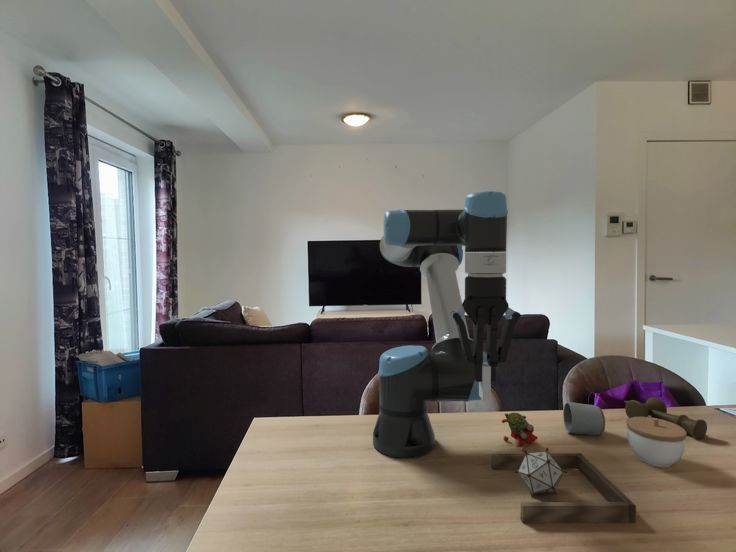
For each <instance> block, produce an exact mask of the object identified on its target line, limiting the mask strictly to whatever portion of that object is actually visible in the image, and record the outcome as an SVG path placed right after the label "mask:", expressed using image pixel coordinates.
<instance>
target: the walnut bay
mask: <svg viewBox="0 0 736 552" xmlns="http://www.w3.org/2000/svg"><path fill="white" fill-rule="evenodd" d="M548 453H549V454H550V455H551V457H552V458H553V459H554V460H555V462H556V463H557V464H558V465H559V467H560V468H561V469H562V470H577V471H578V472H579V473H580V474H581V475H582V476H583V477H584V478H585V479H586V480H587V481H588V482H589V483H590V484H591V485H592V486H593V487H594V488H595V490H597V492H598V493H600V495H602V496H603V498H604V499H605V500H606V501H575V502H574V501H557V502H555V501H550V502H549V501H543V502H542V501H540V502H539V501H538V502H537V501H536V502H533V501H532V502H531V501H530V502H529V501H528V502H527V501H525V502H524V501H522V502H520V518H519V519H520V521H521V522H522V523H523V524H563V523H564V524H565V523H566V524H570V523H572V524H573V523H574V524H584V523H585V524H588V523H594V524H596V523H597V524H599V523H601V524H604V523H605V524H606V523H610V524H611V523H616V524H618V523H633V524H634V523H636V521H637V520H636V514H637V513H636V512H637V511H636V509H637V506H636V504H635V503H634V502H633V501H632V500H630V498H629V497H628V496H627V495H625V494H624V493H623V492H622V491H621V490H620V489H619V488H618V487H617V486H616V485H615V484H614V483H613V482H612V481H611V480H610V479H608V477H607V476H605V475H604V473H602V472H601V471H600V470H599V469H598V468H597V467H596V466H595V465H594V464H593V463H592V462H591V461H590V460H589V459H588V458H586V457H585V455H584V454H582V453H581V452H573V453H572V452H570V453H569V452H564V453H563V452H560V453H559V452H558V453H557V452H554V453H551V452H548ZM490 455H491V459H490V461H491V462H490V463H491V464H490V466H491V469H492V470H496V471H497V470H498V471H500V470H506V471H507V470H511V471H512V470H514V471H518V469H519V467H520V465H521V463H522V461H523V459H524V456H525V453H524V452H523V453H491V454H490Z"/></svg>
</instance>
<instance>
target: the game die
mask: <svg viewBox="0 0 736 552" xmlns="http://www.w3.org/2000/svg"><path fill="white" fill-rule="evenodd" d="M522 449H523V450H524V448H522ZM527 451H528V450H527V449H525V450H524V452H523V453H525V456H524V459H523V461H522V463H521V465H520V467H519V469H518V470H514V471H513V473H515V474H518V475H519V477H520V478H521V479H522V480H523V481H524V483H525V485H527V487H528V488H529V490H530V491H531V494H530V496H531V498H534V497H535V494H542V493H551V492H552V493H553V494H554V495H558V492H557V486H558V484H559V483H560V481H561V478H562V477H563V475H564V474H567V473H569V471H568V470H567V469H561V468H560V467H559V465H558V464H557V463H556V462H555V460H554V459H553V458H552V457H551V455H550V454H549V453H550V452H549V446H546V447H545V450H542V451H540V450H539V451H532V452H527Z"/></svg>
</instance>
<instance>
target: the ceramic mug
mask: <svg viewBox="0 0 736 552" xmlns="http://www.w3.org/2000/svg"><path fill="white" fill-rule="evenodd" d="M562 415H563V425H564V429H565V430H566V432H567V433H568V434H573V435H574V434H577V435H590V436H599V435H602V434H603V433H604V432H605V430H606V418H605V413H604V411H603V410H602V408H601V407H600V406H597V405H594V404H587V403H585V404H584V403H580V402H579V403H578V402H573V401H572V402H571V401H567V402H565V404H564V406H563V413H562Z"/></svg>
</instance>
